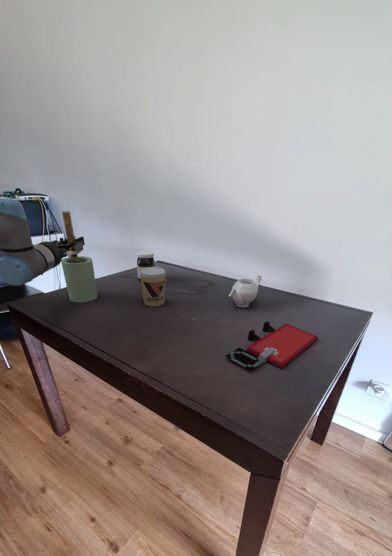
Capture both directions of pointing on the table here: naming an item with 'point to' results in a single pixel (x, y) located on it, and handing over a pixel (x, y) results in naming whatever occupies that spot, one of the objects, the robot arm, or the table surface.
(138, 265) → the spread jar
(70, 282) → the green cylindrical holder
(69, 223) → the bottle brush
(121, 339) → the table surface
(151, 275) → the coffee cup
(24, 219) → the robot arm
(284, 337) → the red board with handle
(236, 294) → the teapot
